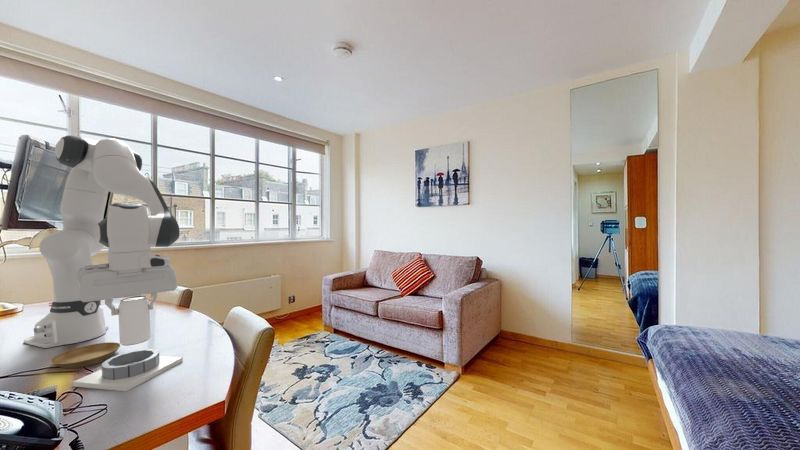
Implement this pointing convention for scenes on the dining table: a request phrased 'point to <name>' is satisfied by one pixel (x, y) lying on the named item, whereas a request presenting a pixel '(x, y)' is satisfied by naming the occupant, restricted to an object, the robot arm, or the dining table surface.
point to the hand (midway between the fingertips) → (133, 311)
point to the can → (134, 320)
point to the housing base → (127, 381)
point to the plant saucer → (85, 355)
